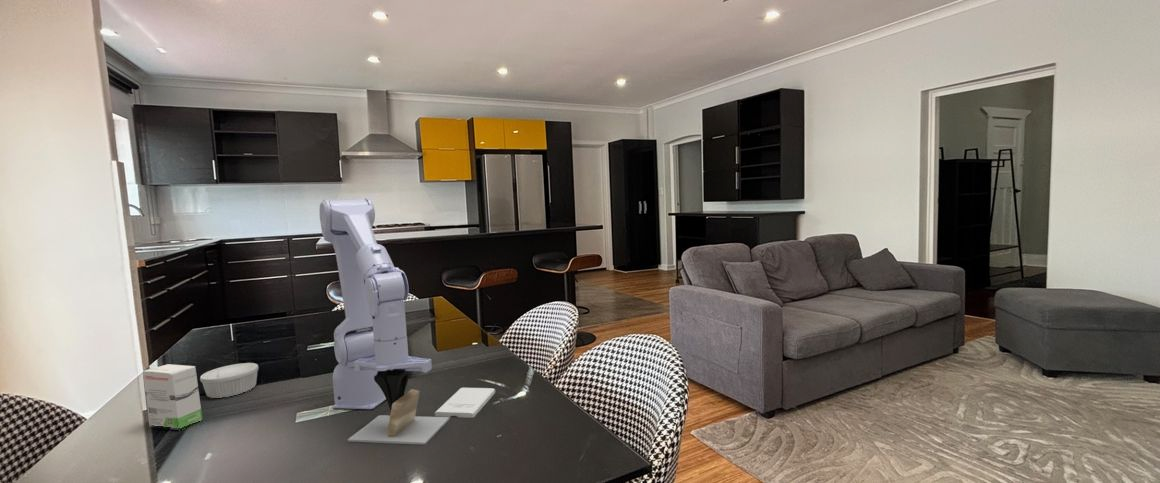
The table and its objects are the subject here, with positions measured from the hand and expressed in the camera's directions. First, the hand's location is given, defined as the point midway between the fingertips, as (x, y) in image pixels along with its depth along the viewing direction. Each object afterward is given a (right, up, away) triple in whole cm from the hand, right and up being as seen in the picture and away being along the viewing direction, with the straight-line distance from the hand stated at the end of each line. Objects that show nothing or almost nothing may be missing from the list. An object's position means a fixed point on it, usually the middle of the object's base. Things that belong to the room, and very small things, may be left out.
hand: (396, 408), depth 91 cm
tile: (+1, -4, 0) cm, 4 cm away
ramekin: (-49, -5, +25) cm, 55 cm away
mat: (+1, -4, 0) cm, 4 cm away
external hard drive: (+11, -4, +11) cm, 16 cm away
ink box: (-48, -6, +8) cm, 49 cm away
